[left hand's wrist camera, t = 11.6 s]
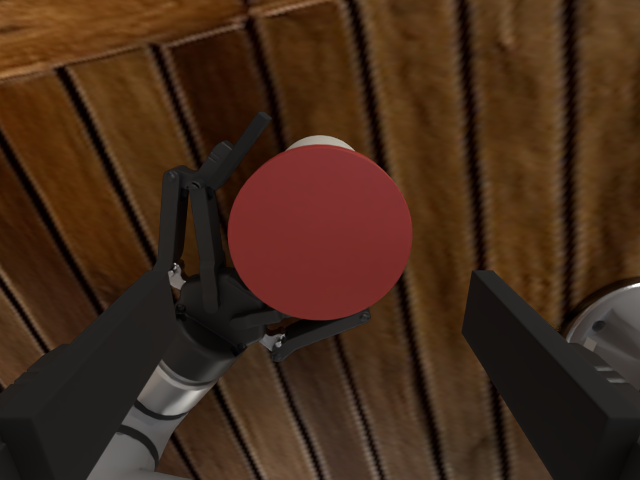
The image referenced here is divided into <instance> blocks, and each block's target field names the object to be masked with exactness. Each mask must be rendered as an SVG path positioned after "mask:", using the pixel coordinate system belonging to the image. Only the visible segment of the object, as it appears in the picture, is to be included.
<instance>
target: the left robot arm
mask: <svg viewBox="0 0 640 480" xmlns="http://www.w3.org/2000/svg"><path fill="white" fill-rule="evenodd" d="M177 334H178V327H177V321H176V315H175V309H174V304H173V298H172V292H171V286H170V280H169V274H168V271H146V272H145V273H144V274H143V275H142V276H141V277H140V278H139V279H138V280H137V281H136V282H135V283H134V284H133V285H132V286H131V287H129V288H128V289H127V290H126V291H125V292H124V293H123V294H122V295H121V296H120V297H119V298H118V299H117V300H116V301H115V302H114V303H113V304H112V305H111V306H109V307H108V308H107V309H106V310H105V311H104V312H103V313H102V314H101V315H100V316H99V317H98V318H97V319H96V320H95V321H94V322H93V323H92V324H91V325H90V326H88V327H87V328H86V329H85V330H84V331H83V332H82V333H81V334H80V335H79V336H78V337H77V338H76V339H75V340H74V341H73V342H72V343H71V344H62V345H60V346H59V347H57V348H55V349H53V350H52V351H50V352H48V353H47V354H45V355H43V356H42V357H41V358H40V359H39V360H37V361H36V362H35V363H34V364H33V365H32V366H31V367H30V368H29V369H27V372H24V373H23V374H22V375H21V376H20V377H19V378H17V379H16V380H15V381H14V384H11V385H10V386H9V387H7V388H6V389H5V390H4V391H3V392H2V393H1V394H0V480H86V479H87V478H88V476H89V475H90V473H91V471H92V470H93V468H94V467H95V465H96V463H97V462H98V460H99V459H100V457H101V455H102V454H103V452H104V451H105V449H106V447H107V446H108V444H109V443H110V441H111V439H112V438H113V436H114V435H115V433H116V432H117V430H118V428H119V427H120V425H121V424H122V422H123V420H124V419H125V417H126V416H127V414H128V412H129V411H130V409H131V408H132V406H133V404H134V403H135V401H136V400H137V398H138V396H139V395H140V393H141V392H142V390H143V388H144V387H145V385H146V384H147V382H148V380H149V379H150V377H151V376H152V374H153V372H154V371H155V369H156V368H157V366H158V364H159V363H160V361H161V360H162V358H163V356H164V355H165V353H166V352H167V350H168V348H169V347H170V345H171V344H172V342H173V340H174V339H175V337H176V336H177ZM462 334H463V336H464V337H465V339H466V340H467V342H468V344H469V345H470V347H471V348H472V350H473V352H474V353H475V355H476V356H477V358H478V360H479V361H480V363H481V364H482V366H483V368H484V369H485V371H486V372H487V374H488V376H489V377H490V379H491V380H492V382H493V384H494V385H495V387H496V388H497V390H498V392H499V393H500V395H501V396H502V398H503V400H504V401H505V403H506V404H507V406H508V408H509V409H510V411H511V412H512V414H513V416H514V417H515V419H516V420H517V422H518V424H519V425H520V427H521V428H522V430H523V432H524V433H525V435H526V436H527V438H528V439H529V441H530V443H531V444H532V446H533V447H534V449H535V451H536V452H537V454H538V455H539V457H540V459H541V460H542V462H543V463H544V465H545V467H546V468H547V470H548V471H549V473H550V475H551V476H552V478H553V479H554V480H640V277H637V278H631V279H626V280H623V281H619V282H616V283H614V284H611V285H609V286H607V287H605V288H603V289H601V290H599V291H597V292H596V293H594V294H593V295H591V296H590V297H588V298H587V299H586V300H585V301H583V302H582V303H581V304H580V305H579V306H578V307H577V308H576V309H575V310H574V311H573V312H572V314H571V315H570V316H569V318H568V319H567V320H566V322H565V324H564V325H563V328H562V330H561V332H560V334H559V333H558V332H557V331H556V330H555V329H554V328H553V327H552V326H550V325H549V324H548V323H547V322H546V321H545V320H544V319H543V318H542V317H541V316H540V315H539V314H538V313H537V312H536V311H535V310H534V309H533V308H532V307H530V306H529V305H528V304H527V303H526V302H525V301H524V300H523V299H522V298H521V297H520V296H519V295H518V294H517V293H516V292H515V291H514V290H513V289H512V288H511V287H509V286H508V285H507V284H506V283H505V282H504V281H503V280H502V279H501V278H500V277H499V276H498V275H497V274H496V273H495V272H494V271H472V274H471V280H470V286H469V292H468V298H467V304H466V309H465V315H464V321H463V327H462Z"/></svg>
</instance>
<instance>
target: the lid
mask: <svg viewBox="0 0 640 480" xmlns="http://www.w3.org/2000/svg"><path fill="white" fill-rule="evenodd" d="M411 244H412V223H411V217H410V213H409V210H408V206H407V203H406V201H405V199H404V197H403V195H402V193H401V191H400V190H399V188H398V187H397V185H396V184H395V183H394V181H393V180H392V179H391V178H390V177H389V176H388V175H387V174H386V173H385V172H384V171H383V170H382V169H381V168H380V167H379V166H378V165H377V164H375V163H374V162H373V161H372V160H370V159H369V158H367V157H365V156H364V155H362V154H360V153H358V152H355V151H353V150H351V149H347V148H344V147H341V146H335V145H328V144H313V145H305V146H300V147H296V148H292V149H289V150H287V151H285V152H282V153H280V154H278V155H276V156H275V157H273V158H271V159H270V160H268V161H267V162H266V163H265V164H263V165H262V166H261V167H260V168H259V169H258V170H257V171H256V172H255V173H254V174H253V175H252V176H251V177H250V178H249V179H248V180H247V181H246V183H245V184H244V185H243V187H242V188H241V190H240V191H239V193H238V195H237V197H236V199H235V201H234V204H233V207H232V209H231V212H230V217H229V222H228V245H229V250H230V255H231V258H232V261H233V264H234V266H235V268H236V270H237V272H238V274H239V276H240V278H241V279H242V280H243V282H244V283H245V285H246V286H247V287H248V288H249V289H250V290H251V292H252V293H253V294H254V295H255V296H257V297H258V298H259V299H260V300H261V301H263V302H264V303H266V304H267V305H269V306H270V307H272V308H274V309H276V310H278V311H280V312H282V313H285V314H287V315H290V316H293V317H297V318H302V319H309V320H331V319H338V318H343V317H347V316H350V315H353V314H356V313H358V312H360V311H362V310H364V309H366V308H368V307H370V306H371V305H373V304H374V303H376V302H377V301H378V300H380V299H381V298H382V297H383V296H385V295H386V294H387V293H388V291H389V290H390V289H391V288H392V287H393V286H394V285H395V283H396V282H397V281H398V279H399V277H400V276H401V274H402V272H403V270H404V268H405V266H406V263H407V261H408V258H409V254H410V250H411Z"/></svg>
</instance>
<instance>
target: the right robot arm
mask: <svg viewBox="0 0 640 480" xmlns="http://www.w3.org/2000/svg"><path fill="white" fill-rule="evenodd" d="M271 119H272V118H271V117H270V116H268V115H267V114H266V113H265V112H258V113H257V115H256V116H255V118H254V119H253V120H252V122H251V123H250V125H249V126H248V127H247V129H246V130H245V132H244V133H243V135H242V136H241V137H240V139H239V140H238V142H237V143H236V144H235V146H234V145H233V144H231V143H230V142H229V141H227V140H225V141H222V142H221V143H219V144H217V145H216V146H215V147H214V149H213V150H212V152H211V153H210V155H209V156H208V158H207V159H206V160H205V162H204V163H203V165H202V166H201V168H200V169H199V171H194V170H191V169H189V168H188V167H187V166H184V165H180V166H177V167H175V168H173V169H170V170H168V171H166V172H165V173H164V175H163V184H162V199H161V215H160V231H159V246H158V260H157V262H156V264H155V265H154V267H153V269H152V271H168V274H169V280H170V285H172V286H173V287H175V288H177V289H179V290H180V298H179V300H178V301H177V302H176V304H175V305H174V309H175V315H176V321H177V327H178V334H177V336H176V337H175V339H174V340H173V342H172V344H171V345H170V347H169V348H168V350H167V352H166V353H165V355H164V356H163V358H162V360H161V361H160V363H159V364H158V366H157V368H156V369H155V371H154V372H153V374H152V376H151V377H150V379H149V380H148V382H147V384H146V385H145V387H144V388H143V390H142V392H141V393H140V395H139V396H138V398H137V400H136V401H135V403H134V404H133V406H132V408H131V409H130V411H129V412H128V414H127V416H126V417H125V419H124V420H123V422H122V424H121V425H120V427H119V428H118V430H117V432H116V433H115V435H114V436H113V438H112V439H111V441H110V443H109V444H108V446H107V447H106V449H105V451H104V452H103V454H102V455H101V457H100V459H99V460H98V462H97V463H96V465H95V467H94V468H93V470H92V471H91V473H90V475H89V476H88V478H87V479H86V480H193V479H188V478H183V477H179V476H174V475H169V474H164V473H159V472H155V471H156V469H157V466H158V463H159V460H160V458H161V455H162V453H163V451H164V449H165V447H166V445H167V442H168V440H169V438H170V436H171V434H172V433H173V431H174V430H175V428H176V427H177V426H178V425H179V423H180V422H181V421H182V420H183V419H184V418H185V416H186V415H187V414H188V413H189V412H190V411H191V410H192V409H193V408H194V406H195V405H196V404H197V403H198V402H199V401H200V400H201V399H202V398H203V396H204V395H205V394H206V393H207V392H208V391H209V390H210V389H211V388H212V387H213V386H214V384H215V383H216V382H217V381H218V380H219V378H220V377H221V376H222V375H223V374H224V373H225V372H226V371H227V370H228V369H229V368H230V366H231V365H232V364H233V363H234V362H235V361H236V360H237V359H238V357H239V356H240V355H241V354H242V353H243V352H244V351H245V350H246V348H247V347H248V346H249V345H251V344H253V343H255V342H258V341H259V342H261V343H262V344H263V345H264V346H266V347H267V348H268V349H269V350H271V351H272V353H271V359H272V360H273V361H275V362H280V361H282V360H283V359H285V358H286V357H287V356H288V355H289V354H291V353H292V352H293V351H294V350H296V349H299V348H301V347H304V346H307V345H309V344H312V343H314V342H317V341H320V340H322V339H325V338H328V337H330V336H333V335H336V334H338V333H341V332H344V331H346V330H349V329H352V328H354V327H357V326H360V325H362V324H365V323H367V322H369V320H370V318H371V316H370V312H369V308H366V309H364V310H362V311H360V312H358V313H356V314H353V315H350V316H347V317H343V318H338V319H331V320H309V319H303V320H300V321H297V322H295V323H293V324H291V325H289V326H288V327H286V328H285V329H284V327H279V328H278V329H276V330H269V329H267V324H271V323H277V322H280V321H281V320H282V319H284V318H289V317H293V316H290V315H287V314H285V313H282V312H280V311H278V310H276V309H274V308H272V307H270V308H268V309H267V307H269V305H267V304H266V303H264V302H263V301H261V300H260V299H259V298H258V297H257V296H255V295H254V294H253V293H252V292H251V290H250V289H249V288H248V287H247V286H246V285H245V283H244V282H243V280H242V279H241V278H240V276H239V274H238V272H237V270H236V268H231V267H226V259H225V252H224V251H223V249H222V242H221V234H220V226H219V218H218V211H217V203H216V195H215V191H216V190H218V189H219V188H220V187H221V186H223V185H224V184H225V183H226V181H227V180H228V179H229V177H230V176H231V174H232V173H233V172H234V170H235V169H236V167H237V166H238V165H239V163H240V162H241V161H242V159H243V158H244V156H245V155H246V154H247V152H248V151H249V149H250V148H251V147H252V145H253V144H254V143H255V141H256V140H257V138H258V137H259V136H260V134H261V133H262V131H263V130H264V129H265V127H266V126H267V125H268V123H269V122H270V120H271ZM189 194H190V200H191V207H192V213H193V219H194V226H195V232H196V239H197V245H198V252H199V258H200V265H199V274H195V275H192V276H190V277H188V276H187V275H186V274H185V272H184V269H185V264H184V261H183V260H182V259H180V258H181V256H182V253H183V248H184V239H185V228H186V218H187V207H188V196H189Z"/></svg>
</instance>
